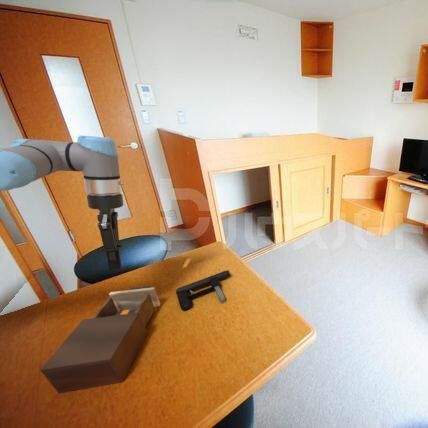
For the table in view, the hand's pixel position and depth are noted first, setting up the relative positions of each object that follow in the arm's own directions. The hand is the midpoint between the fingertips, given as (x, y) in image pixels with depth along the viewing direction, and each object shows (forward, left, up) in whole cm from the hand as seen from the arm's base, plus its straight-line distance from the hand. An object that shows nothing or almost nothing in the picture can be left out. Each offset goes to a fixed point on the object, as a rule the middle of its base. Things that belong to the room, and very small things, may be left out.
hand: (115, 269), depth 73 cm
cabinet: (+2, -15, -21) cm, 26 cm away
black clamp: (+20, +11, -21) cm, 31 cm away
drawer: (0, -1, -20) cm, 20 cm away
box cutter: (0, -2, -19) cm, 19 cm away
